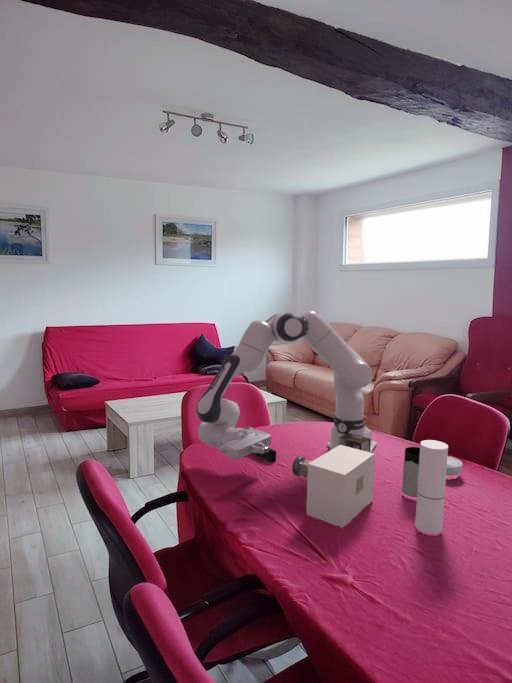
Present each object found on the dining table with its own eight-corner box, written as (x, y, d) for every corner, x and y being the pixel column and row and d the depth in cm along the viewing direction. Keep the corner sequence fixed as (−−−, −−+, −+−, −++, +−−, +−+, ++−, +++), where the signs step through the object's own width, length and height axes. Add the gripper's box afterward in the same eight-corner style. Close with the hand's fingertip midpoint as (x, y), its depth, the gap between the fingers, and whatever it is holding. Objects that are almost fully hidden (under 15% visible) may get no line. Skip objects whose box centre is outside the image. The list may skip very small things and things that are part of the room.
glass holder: (395, 495, 151) (398, 451, 148) (414, 481, 161) (417, 440, 159) (421, 504, 145) (424, 458, 143) (439, 489, 155) (442, 446, 153)
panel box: (338, 490, 153) (339, 444, 151) (372, 502, 146) (374, 453, 143) (306, 515, 137) (307, 463, 135) (342, 528, 130) (345, 474, 128)
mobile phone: (277, 449, 177) (249, 438, 187) (272, 451, 175) (244, 440, 185) (277, 461, 177) (249, 450, 188) (271, 464, 175) (244, 452, 186)
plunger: (302, 471, 153) (302, 454, 152) (342, 484, 144) (343, 465, 143) (292, 477, 148) (292, 459, 147) (333, 491, 139) (334, 472, 138)
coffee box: (369, 483, 159) (371, 438, 156) (359, 489, 154) (362, 443, 152) (346, 475, 165) (348, 432, 163) (336, 481, 160) (338, 436, 158)
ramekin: (427, 478, 164) (428, 464, 163) (428, 466, 174) (429, 453, 173) (462, 484, 159) (463, 469, 159) (461, 471, 170) (462, 457, 169)
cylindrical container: (441, 525, 132) (447, 441, 129) (442, 538, 126) (449, 450, 122) (415, 520, 135) (420, 438, 131) (414, 533, 128) (420, 447, 125)
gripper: (215, 439, 157) (247, 450, 148) (252, 425, 173) (283, 434, 164) (215, 457, 158) (246, 468, 149) (252, 441, 174) (282, 451, 165)
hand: (266, 450), depth 157 cm, fingers closed
